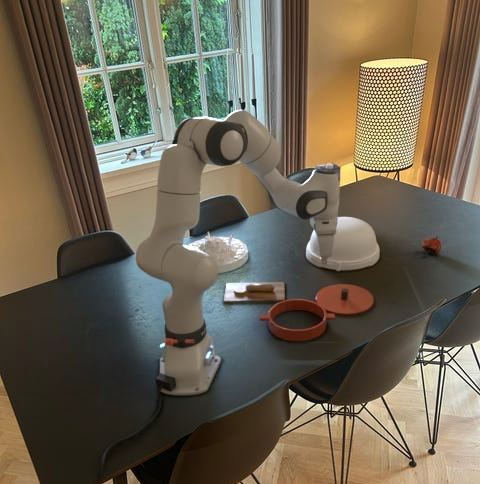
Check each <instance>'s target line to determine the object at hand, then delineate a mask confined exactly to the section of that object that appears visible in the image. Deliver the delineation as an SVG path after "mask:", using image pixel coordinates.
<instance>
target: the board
mask: <svg viewBox="0 0 480 484" xmlns="http://www.w3.org/2000/svg"><path fill="white" fill-rule="evenodd" d="M285 283H286V282H285V281H263V282H261V281H259V282H226V284H225V290H224V295H223V304H227V305H228V304H234V303H275V302H277V303H279V302H282V301H285V300H286V295H285V291H286V290H285V287H286V285H285ZM249 284H273V285H274V287H275V289H274V290H273V291H250V292H249V291H247V292H246V293H245V294H241V295H239V294H235V293H234V288H235V287H236V286H247V285H249Z"/></svg>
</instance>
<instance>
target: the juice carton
mask: <svg viewBox="0 0 480 484" xmlns="http://www.w3.org/2000/svg"><path fill="white" fill-rule="evenodd" d="M315 169H329V170H332V171H334V172H335V173H336V174H337V176H338V182H339V194H340V191H341V190H340V189H341V169H342V168H341V167H340V166H339V165H337V164H335V163H334V162H329V163H326V164H317V165H315V166H314V170H315ZM337 207H338V212H339V209H340V196H339V197H338V201H337Z"/></svg>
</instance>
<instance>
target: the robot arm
mask: <svg viewBox="0 0 480 484" xmlns="http://www.w3.org/2000/svg"><path fill="white" fill-rule="evenodd" d="M281 154H282V150H281V148H280V145H279V143H278V141H277V140H276V138H275V137H274V136H273V134H272V133H271V132H270V131H269V129H268V128H267V127H266V126H265V125H264V124H263V123H262V122H261V121H260V120H259V119H258V118H257V117H256V116H254V115H253V114H251V112H249V111H247V110H244V109H237V110H234V111H233V112H231V113H229V114H228V115H227V116H226V118H225V119H224V120H222V119H218V118H215V117H209V116H190V117H187V118H185V119H184V120H182V121H180V123H179V124H178V126H177V128H176V130H175V133H174V137H173V139H172V142H171V145H169V146H168V147H166V148H165V149H163V151H162V153H161V157H160V160H159V166H158V172H157V184H156V185H157V186H156V209H155V219H154V224H153V226H152V228H151V232H150V233H149V235H148V236H147V238H146V239H143V241H141V243H139V245H138V247H137V249H136V253H135V263H136V265H137V267H138V268H139V269H140V270H141V271H142V272H144V273H145V274H146V275H148V276H150V277H151V278H154V279H157V280H160V281H163V282H164V283H168V284H169V286H171V289H172V291H171V292H170V293H168V294H167V295H166V296H165V298H164V300H163V301H162V311H163V318H164V335H165V336H164V338H163V343H161V344H160V345H159V347H160V348H164V349H163V353H164V354H162V356H161V357H160V358H159V374H158V375H156V376H155V378H154V379H155V385H156V387H158V390H157V393H156V394H157V397H158V407H157V410H156V412H155V413H154V414H153V416H152V417H151V418H150V420H149V421H148V422H146V423H145V424H144V425H143V426H141V427H140V428H138V429H137V430H136V431H135V432H133V433H131V434H129V435H126V436H125V437H123V438H121V439H118V440H116V441H114V442H113V443H111V444H110V445H109V446H108V447H107V448H106V449H105V450H104V452H103V454H102V457H101V460H100V469H99V475H98V477H99V478H102V477H103V475H104V467H105V459H106V457H107V455H108V453H109V451H111V450H112V449H113V448H114V447H115V446H116V445H119V444H120V443H123V442H125V441H127V440H130V439H131V438H133V437H136V436H137V435H138V434H139V433H141V432H142V431H144V430H145V429H146V428H148V427H149V426H150V425H151V424H152V423H153V422H154V421H155V420H156V418H157V416H158V415H159V413H160V412H161V409H162V400H163V397H162V395H161V393H162V394H165V395H169V396H170V395H171V396H195V395H200V394H203V393H205V392H206V393H207V392H208V390H209V388H210V386H211V384H212V382H213V379H214V378H215V375H216V373H217V371H218V369H219V368H220V365H221V363H222V358H221V357H220V355H217V354H216V351H215V346H214V341H213V338H212V336H211V335H209V333H208V331H207V323H206V320H205V318H204V313H203V312H204V311H203V297H204V293H205V292H206V291H208V290H210V289H211V288H212V287H213V286H214V285H215V284H216V282H217V279H218V276H219V273H218V264H217V261H216V259H215V258H214V257H212V256H210V255H209V254H207V253H205V252H204V251H202V250H200V249H196V248H193V247H189V246H187V245H186V244H184V238H185V235H186V233H187V231H189V230H192V229H194V227H196V226H197V225H198V223H199V221H200V213H201V212H200V210H201V195H202V194H201V193H202V174H203V171H204V170H205V167H206V166H207V165H210V166H218V167H228V166H232V165H234V164H236V163H238V162H240V164H241V165H243V166H244V167H245V168H246V169H247V170H248V171H249V172H251V173H252V174H253V175H254V176H255V177H256V179H257V180H258V182H260V184H261V185H262V186H263V188H264V189H265V190H266V192H267V195H268V199H269V201H270V203H271V205H272V206H273V207H274V208H275V209H278V210H281V211H283V212H285V213H288V214H289V215H291V216H294V217H296V218H298V219H302V220H309V219H310V220H309V225H310V226H311V227H312V229H313V231H314V230H315V233H316V235H317V241H318V247H319V252H320V257H322V258H321V262H322V264H327V259H328V257H331V255H332V251H333V243H334V234H336V226H337V222H338V217H339V211H338V207H337V201H338V197H339V198H340V193H339V182H338V176H337V174H336V173H335V172H334V171H332V170H329V169H315V168H314V169H313V171H312V173H311V175H310V177H309V178H308V179H307V180H306V181H305V182H304V183H300V182H298V181H295V180H293V179H291V178H290V177H287V176H283V175H282V174H281V173H280V171H279V169H277V166H278V164H279V163H280V160H281V157H282V155H281Z"/></svg>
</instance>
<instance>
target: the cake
mask: <svg viewBox="0 0 480 484" xmlns="http://www.w3.org/2000/svg"><path fill="white" fill-rule="evenodd" d="M186 246H189V247H193V248H196V249H200V250H202V251H204V252H205V253H207V254H209V255H210V256H212V257H214V258H215V259H216V261H217V264H218V274H223V273H228V272H231V271H234V270H237V269H238V268H240V267H242V266H244V265H245V263H247V261H248V259H249V248H248V245H247V244H246V243H244V242H243V241H242V240H240V239H238V238H237V239H236V238H233V234H231V236H230V237H227V236H216V235H212V236H211V234H210V231H207V235H206V236H205V237H204V238H201V239H197V240H195V241H193V242H190V243H188V244H187V245H186Z"/></svg>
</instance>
